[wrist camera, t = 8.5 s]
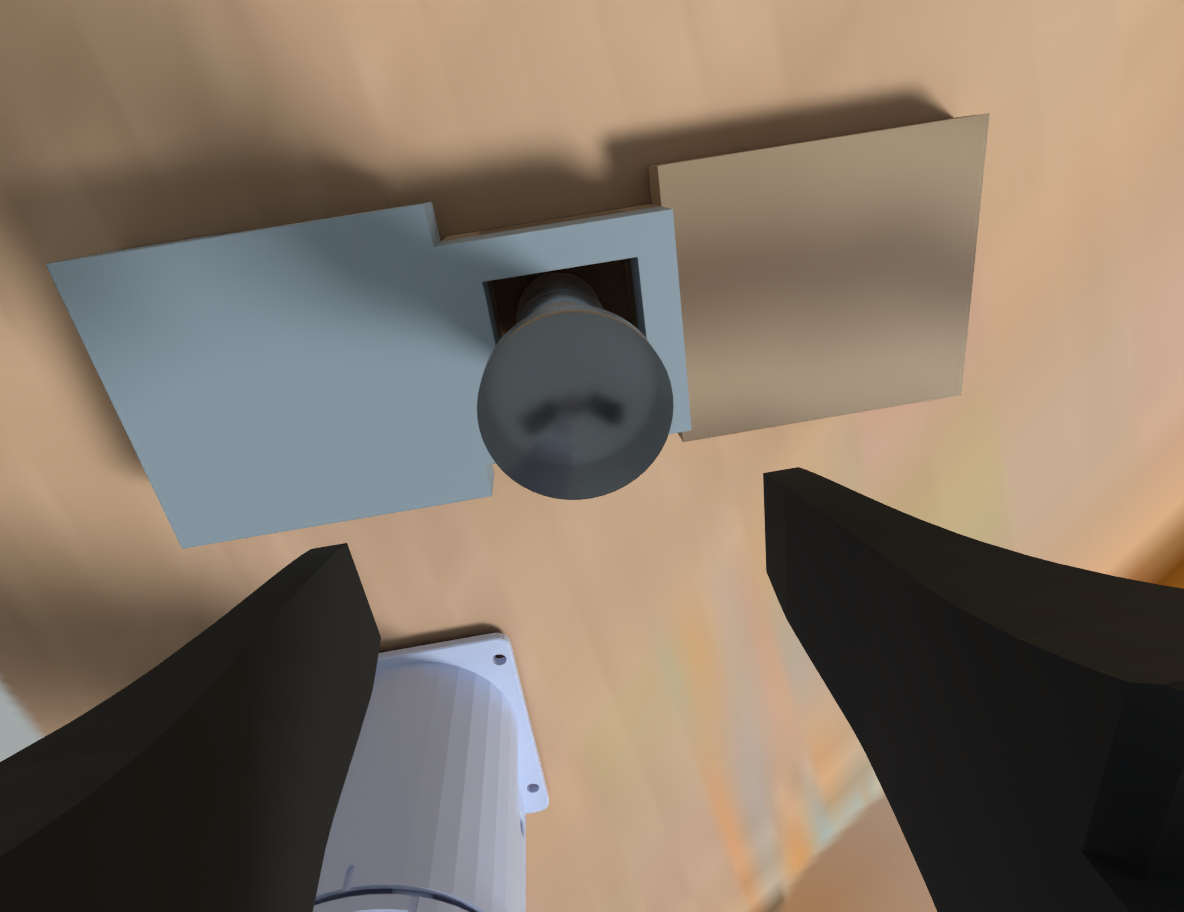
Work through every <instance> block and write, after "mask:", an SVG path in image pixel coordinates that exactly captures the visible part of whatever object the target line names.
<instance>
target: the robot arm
mask: <svg viewBox="0 0 1184 912" xmlns="http://www.w3.org/2000/svg"><path fill="white" fill-rule="evenodd" d="M763 479H764V510H765V540H766V571H767V574H768V576H769V579H770V581H771V584H772V586H773V588H774V591H775V593H776V596H777V598H778V600H779V603H780V605H781V607H782V609H783V612H784V614H785V616H786V619H787V620H788V622H789V624H790V626H791V627H792V629H793V631H794V632H795V634H796V636H797V637H798V639H799V641H800V643H801V644H802V646H803V648H804V649H805V651H806V653H807V654H808V656H809V658H810V659H811V661H812V663H813V664H814V666H815V668H816V669H817V671H818V672H819V674H820V676H821V677H822V679H823V681H824V682H825V684H826V686H827V687H828V689H829V691H830V692H831V694H832V696H833V697H834V699H835V701H836V702H837V704H838V706H839V707H840V709H841V710H842V712H843V714H844V715H845V717H846V719H847V720H848V722H849V724H850V725H851V727H852V729H853V731H854V733H855V734H856V736H857V738H858V740H859V742H860V743H861V745H862V747H863V749H864V751H865V753H866V755H867V757H868V759H869V761H870V763H871V765H872V767H873V769H874V772H875V774H876V776H877V778H878V780H879V782H880V784H881V786H882V789H883V791H884V793H885V795H886V797H887V799H888V801H889V803H890V805H891V808H892V810H893V812H894V814H895V816H896V818H897V821H898V823H899V825H900V827H901V829H902V832H903V834H904V836H905V838H906V841H907V843H908V845H909V847H910V850H911V852H912V854H913V856H914V858H915V861H916V863H917V865H918V867H919V870H920V872H921V874H922V876H923V879H924V881H925V883H926V886H927V888H928V890H929V893H930V895H931V897H932V900H933V902H934V905H935V907H936V909H937V912H1184V589H1182V588H1175V587H1169V586H1163V585H1157V584H1152V583H1147V582H1141V581H1136V580H1131V579H1126V578H1120V577H1115V576H1111V575H1106V574H1102V573H1098V572H1093V571H1089V570H1084V569H1080V568H1076V567H1071V566H1067V565H1062V564H1058V563H1054V562H1050V561H1047V560H1043V559H1039V558H1035V557H1031V556H1028V555H1024V554H1021V553H1018V552H1014V551H1011V550H1008V549H1004V548H1001V547H998V546H994V545H991V544H988V543H984V542H981V541H978V540H975V539H972V538H969V537H966V536H963V535H960V534H957V533H955V532H952V531H949V530H947V529H944V528H941V527H939V526H936V525H934V524H931V523H928V522H926V521H923V520H920V519H918V518H915V517H913V516H910V515H908V514H906V513H903V512H901V511H898V510H896V509H894V508H891V507H889V506H887V505H884V504H882V503H880V502H878V501H875V500H873V499H871V498H869V497H866V496H864V495H862V494H860V493H857V492H855V491H853V490H851V489H849V488H846V487H844V486H842V485H840V484H838V483H836V482H833V481H831V480H829V479H827V478H824V477H822V476H820V475H817V474H815V473H813V472H810V471H808V470H805V469H802V468H799V467H797V468H791V469H785V470H779V471H773V472H768V473H763ZM380 639H381V636H380V634H379V631H378V628H377V625H376V623H375V620H374V617H373V614H372V611H371V609H370V606H369V603H368V600H367V598H366V595H365V592H364V589H363V586H362V584H361V581H360V578H359V575H358V572H357V570H356V567H355V564H354V561H353V559H352V556H351V553H350V550H349V547H348V545H347V543H344V544H338V545H332V546H326V547H321V548H315V549H311V550H309V551H307V552H306V553H304V554H303V555H301V556H300V557H298V558H297V559H295V560H294V561H293V562H291V563H290V564H289V565H287V566H286V567H285V568H283V569H282V570H281V571H280V572H278V573H277V574H276V575H274V576H273V577H272V578H271V579H269V580H268V581H267V582H266V583H264V584H263V585H262V586H261V587H259V588H258V589H257V590H256V591H254V592H253V593H252V594H251V595H249V596H248V597H247V598H246V599H244V600H243V601H242V602H241V603H239V604H238V605H237V606H236V607H234V608H233V609H232V610H231V611H229V612H228V613H227V614H226V615H224V616H223V617H222V618H221V619H219V620H218V621H217V622H215V623H214V624H213V625H211V626H210V627H209V628H207V629H206V630H205V631H203V632H202V633H201V634H199V635H198V636H197V637H195V638H194V639H193V640H191V641H190V642H189V643H187V644H186V645H185V646H183V647H182V648H181V649H179V650H178V651H177V652H175V653H174V654H172V655H171V656H170V657H168V658H167V659H166V660H164V661H163V662H162V663H160V664H159V665H158V666H156V667H155V668H153V669H152V670H150V671H149V672H148V673H146V674H145V675H143V676H142V677H140V678H139V679H137V680H136V681H134V682H133V683H131V684H130V685H128V686H127V687H126V688H124V689H122V690H121V691H119V692H118V693H116V694H115V695H113V696H112V697H110V698H108V699H107V700H105V701H104V702H102V703H101V704H99V705H97V706H96V707H94V708H93V709H91V710H90V711H88V712H86V713H85V714H83V715H82V716H80V717H78V718H77V719H75V720H73V721H72V722H70V723H68V724H67V725H65V726H63V727H61V728H60V729H58V730H56V731H54V732H53V733H51V734H49V735H47V736H45V737H44V738H42V739H40V740H38V741H37V742H35V743H33V744H31V745H30V746H28V747H26V748H25V749H23V750H21V751H19V752H17V753H16V754H14V755H12V756H10V757H9V758H7V759H5V760H3V761H1V762H0V912H526V814H528V813H533V812H539V811H542V810H544V809H545V808H547V806H548V804H549V796H548V791H547V787H546V783H545V779H544V775H543V771H542V767H541V763H540V759H539V755H538V751H537V747H536V743H535V739H534V735H533V731H532V727H531V723H530V719H529V714H528V710H527V706H526V702H525V698H524V694H523V690H522V686H521V682H520V678H519V674H518V670H517V666H516V662H515V658H514V654H513V650H512V646H511V642H510V639H509V638H508V637H507V636H506V635H505V634H502V633H490V634H485V635H479V636H473V637H467V638H462V639H456V640H450V641H445V642H439V643H433V644H427V645H422V646H416V647H410V648H405V649H399V650H393V651H388V652H382V653H379V647H380ZM497 654H502V655H504V656H505V657H503V658H497V657H495V655H497Z"/></svg>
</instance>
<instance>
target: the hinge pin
mask: <svg viewBox="0 0 1184 912" xmlns="http://www.w3.org/2000/svg"><path fill="white" fill-rule="evenodd" d="M673 408H674V405H673V392H672V387H671V382H670V379H669V376H668V373H667V370H666V368H665V366H664V364H663V362H662V360H661V359H660V357H659V356H658V354H657V353H656V351H655V350H654V349H653V347H652V346H651V344H650V343H649V341H648V340H647V339H646V337H645V336H644V335H643V334H642V333H641V332H640V331H639V330H638V329H637V328H636V327H634V326H633V325H632V324H631V323H630V322H628V321H626V320H625V319H623V318H622V317H620V316H618V315H616V314H614V313H612V312H609V311H607V310H604V309H603V307H602V305H601V303H600V301H599V299H598V297H597V295H596V293H595V291H594V290H593V289H592V287H591V286H590V285H589V284H588V283H587V282H585V281H584V280H583V279H581V278H580V277H578V276H576V275H573V274H570V273H565V272H553V273H548V274H545V275H542V276H540V277H538V278H537V279H535V280H534V281H532V282H531V283H530V284H529V285H528V286H527V287H526V289H525V290H524V291H523V293H522V295H521V297H520V300H519V303H518V307H517V315H516V322H515V326H513V327H512V328H511V329H510V330H509V331H508V332H507V333H506V334H505V335H504V336H503V337H502V338H501V339H500V341H499V342H498V343H497V344H496V346H495V347H494V349H493V351H492V352H491V354H490V356H489V358H488V360H487V363H486V365H485V368H484V371H483V375H482V379H481V383H480V387H479V391H478V398H477V419H478V425H479V430H480V433H481V436H482V439H483V442H484V444H485V446H486V448H487V450H488V452H489V454H490V455H491V457H492V458H493V460H494V461H495V463H496V464H497V465H498V466H499V467H500V468H501V470H502V471H503V472H504V473H506V474H507V475H508V476H509V477H510V478H511V479H512V480H514V481H515V482H517V483H518V484H520V485H521V486H523V487H525V488H527V489H529V490H531V491H533V492H536V493H538V494H541V495H544V496H548V497H552V498H557V499H566V500H581V499H589V498H595V497H599V496H603V495H606V494H609V493H611V492H614V491H616V490H618V489H620V488H622V487H624V486H626V485H628V484H629V483H631V482H632V481H633V480H635V479H636V478H638V477H639V476H640V475H641V474H642V473H643V472H644V471H646V469H647V468H648V467H649V466H650V465H651V464H652V463H653V462H654V460H655V459H656V457H657V456H658V455H659V453H660V451H661V450H662V448H663V446H664V444H665V442H666V439H667V437H668V434H669V431H670V428H671V423H672V419H673Z"/></svg>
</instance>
